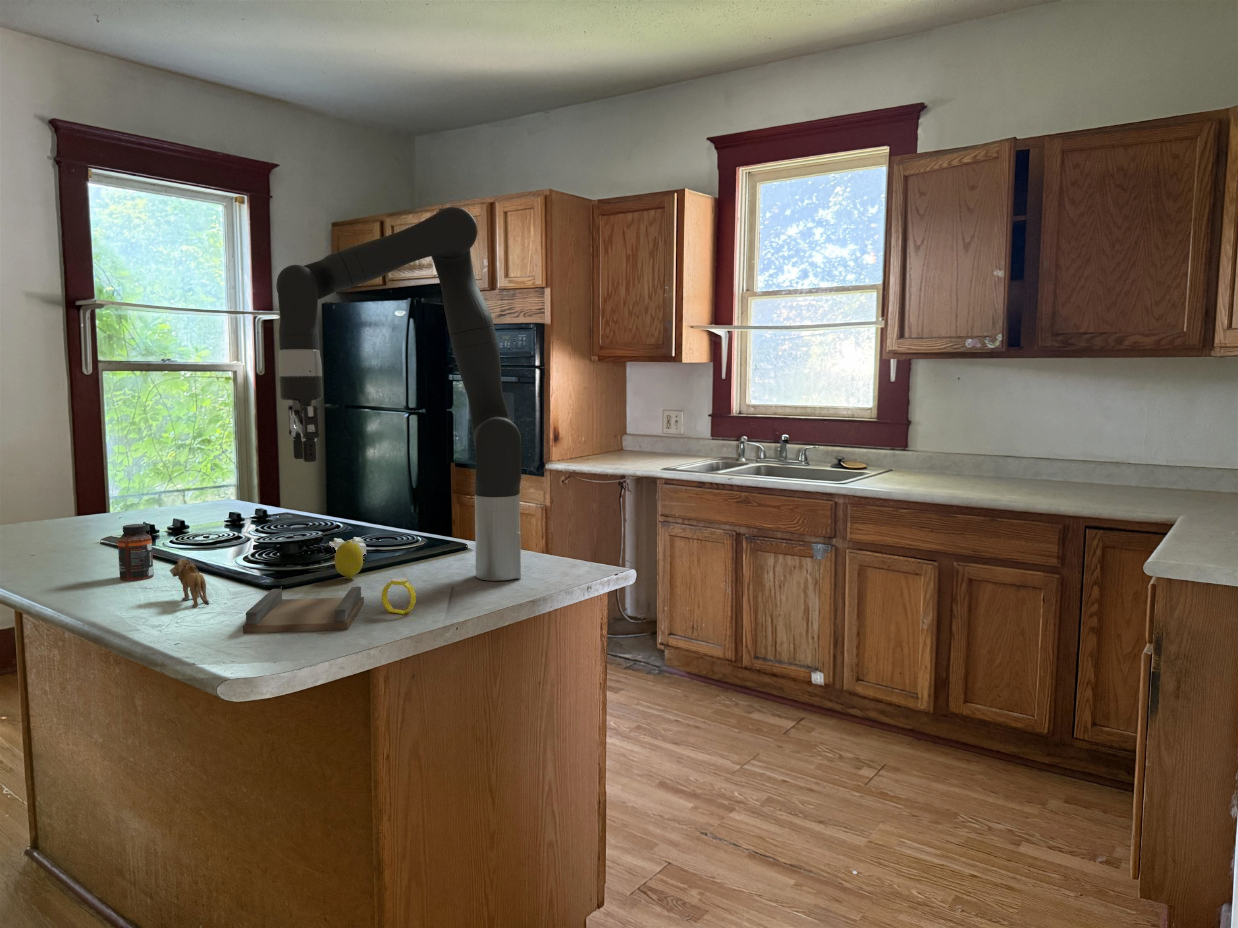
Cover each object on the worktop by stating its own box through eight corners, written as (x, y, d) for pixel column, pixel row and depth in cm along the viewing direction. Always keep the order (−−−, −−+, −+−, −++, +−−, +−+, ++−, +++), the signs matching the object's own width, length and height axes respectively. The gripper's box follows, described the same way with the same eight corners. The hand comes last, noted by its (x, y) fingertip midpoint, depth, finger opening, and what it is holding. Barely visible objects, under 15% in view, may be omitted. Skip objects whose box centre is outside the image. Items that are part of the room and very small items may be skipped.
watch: (379, 613, 146) (378, 579, 145) (388, 609, 148) (387, 576, 148) (410, 616, 144) (409, 581, 144) (418, 612, 147) (417, 578, 146)
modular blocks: (329, 555, 199) (329, 538, 199) (359, 552, 203) (358, 536, 202) (346, 571, 182) (346, 552, 182) (378, 568, 185) (378, 550, 185)
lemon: (355, 582, 169) (354, 543, 168) (329, 581, 170) (328, 542, 169) (368, 576, 174) (367, 538, 173) (344, 575, 175) (343, 537, 175)
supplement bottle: (160, 579, 171) (158, 523, 170) (133, 585, 166) (130, 528, 165) (140, 576, 174) (138, 521, 173) (113, 582, 169) (110, 526, 168)
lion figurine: (168, 598, 156) (166, 559, 155) (192, 594, 159) (191, 555, 158) (197, 609, 148) (195, 568, 147) (221, 604, 151) (220, 564, 151)
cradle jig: (364, 603, 153) (363, 585, 152) (347, 629, 136) (347, 610, 136) (271, 606, 150) (270, 588, 150) (242, 633, 134) (242, 613, 133)
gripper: (330, 373, 155) (334, 461, 157) (312, 375, 167) (316, 456, 169) (287, 373, 151) (291, 464, 153) (272, 375, 163) (276, 458, 165)
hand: (304, 460), depth 161 cm, fingers open, 8 cm apart
